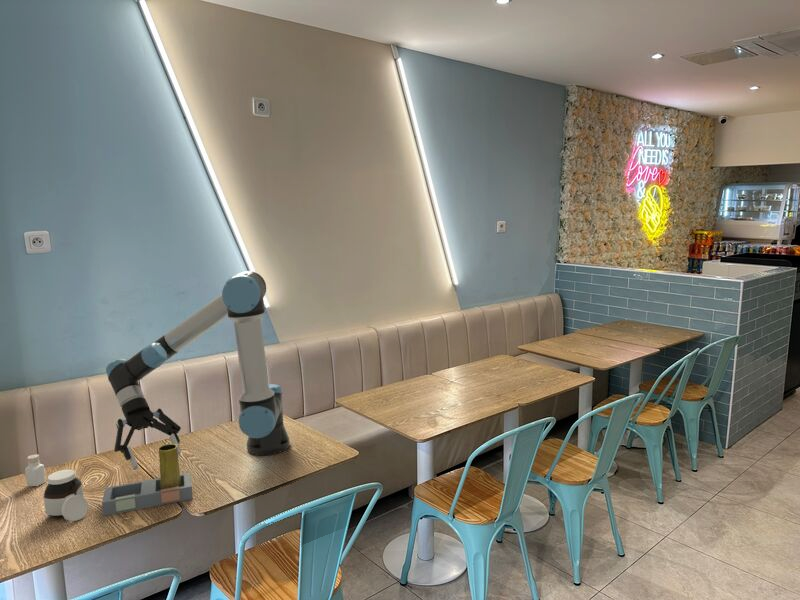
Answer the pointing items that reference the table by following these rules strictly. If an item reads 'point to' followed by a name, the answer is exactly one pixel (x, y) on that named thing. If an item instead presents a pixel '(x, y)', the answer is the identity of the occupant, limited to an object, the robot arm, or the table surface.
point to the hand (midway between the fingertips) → (158, 460)
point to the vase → (169, 466)
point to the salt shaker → (35, 471)
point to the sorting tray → (144, 495)
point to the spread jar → (65, 496)
